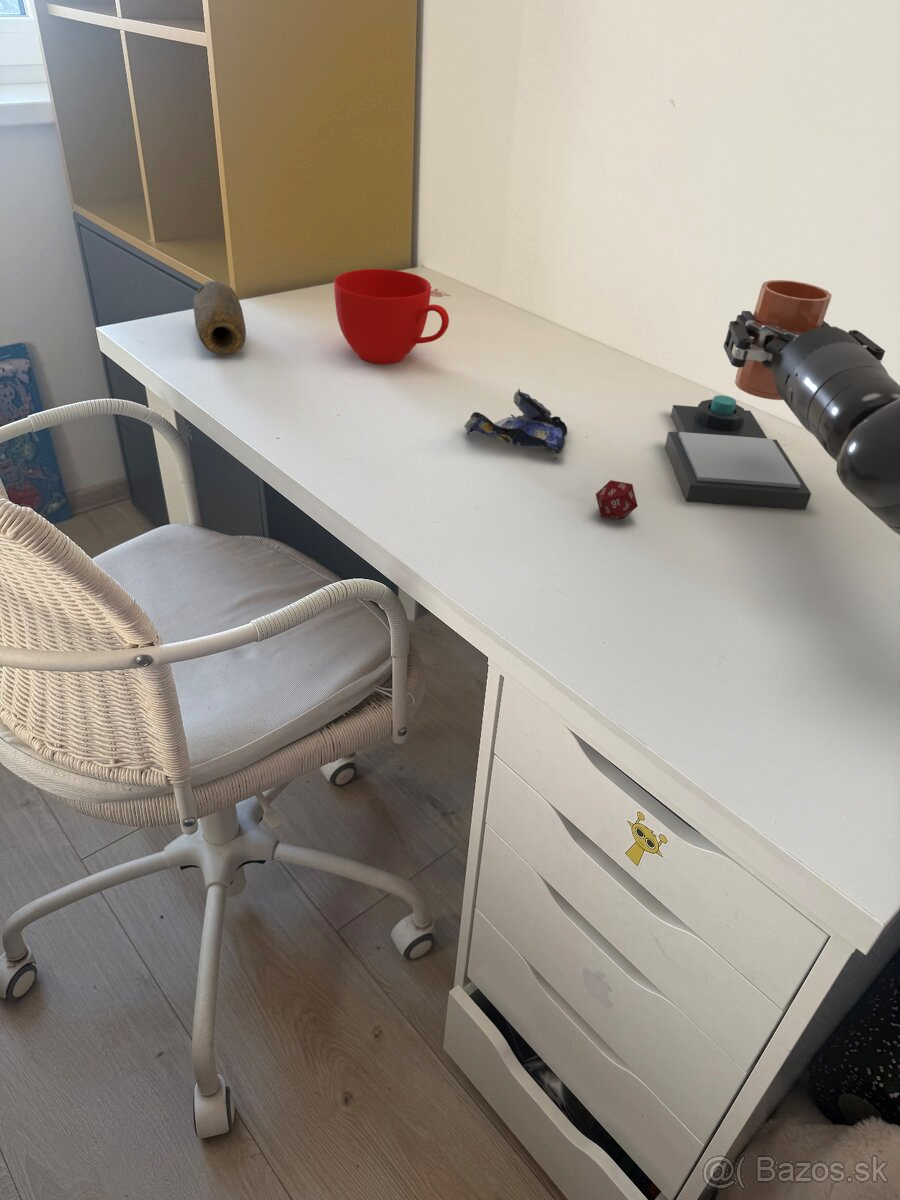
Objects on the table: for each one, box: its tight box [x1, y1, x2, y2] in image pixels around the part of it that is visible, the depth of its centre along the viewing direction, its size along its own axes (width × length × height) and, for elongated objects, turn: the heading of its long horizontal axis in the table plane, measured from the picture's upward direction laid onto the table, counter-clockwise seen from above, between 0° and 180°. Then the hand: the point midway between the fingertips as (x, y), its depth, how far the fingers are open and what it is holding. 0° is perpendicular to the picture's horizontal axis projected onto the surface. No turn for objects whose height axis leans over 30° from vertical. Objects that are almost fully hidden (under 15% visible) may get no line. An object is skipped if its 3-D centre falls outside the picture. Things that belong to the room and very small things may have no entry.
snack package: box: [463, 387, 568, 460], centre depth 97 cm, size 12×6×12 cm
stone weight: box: [193, 280, 247, 355], centre depth 115 cm, size 15×7×7 cm, turn 20°
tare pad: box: [670, 398, 768, 439], centre depth 103 cm, size 10×8×3 cm
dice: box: [595, 479, 639, 521], centre depth 84 cm, size 4×4×4 cm
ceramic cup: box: [333, 268, 450, 365], centre depth 113 cm, size 13×17×10 cm
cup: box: [734, 279, 832, 401], centre depth 84 cm, size 6×6×10 cm
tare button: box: [710, 394, 737, 415], centre depth 102 cm, size 3×3×2 cm
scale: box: [664, 431, 812, 510], centre depth 94 cm, size 13×13×2 cm
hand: (777, 323), depth 85 cm, fingers closed on cup, 6 cm apart
